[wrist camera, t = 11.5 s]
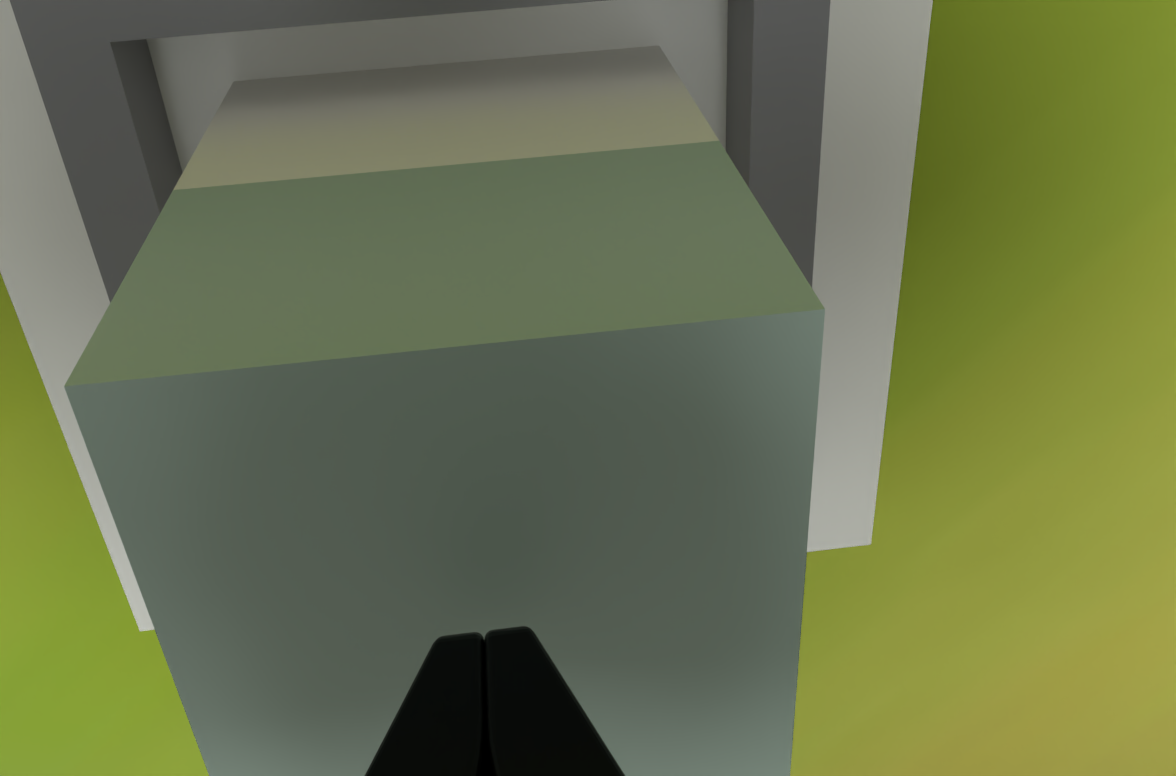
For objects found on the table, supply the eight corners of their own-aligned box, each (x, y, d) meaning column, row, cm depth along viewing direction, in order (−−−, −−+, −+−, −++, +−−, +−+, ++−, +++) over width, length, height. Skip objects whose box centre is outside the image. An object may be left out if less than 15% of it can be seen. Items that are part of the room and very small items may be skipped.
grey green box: (659, 45, 15) (825, 308, 9) (664, 396, 19) (789, 785, 12) (233, 81, 15) (63, 386, 8) (315, 433, 18) (239, 857, 12)
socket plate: (931, -307, 15) (1021, -309, 12) (851, 505, 22) (898, 597, 20) (-148, -236, 14) (-265, -223, 11) (154, 587, 21) (119, 692, 19)
